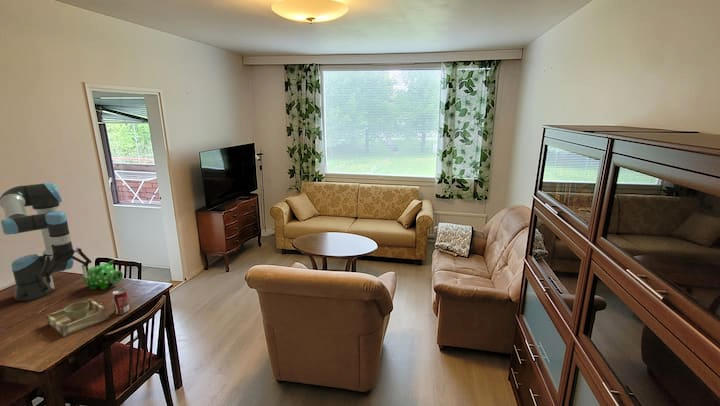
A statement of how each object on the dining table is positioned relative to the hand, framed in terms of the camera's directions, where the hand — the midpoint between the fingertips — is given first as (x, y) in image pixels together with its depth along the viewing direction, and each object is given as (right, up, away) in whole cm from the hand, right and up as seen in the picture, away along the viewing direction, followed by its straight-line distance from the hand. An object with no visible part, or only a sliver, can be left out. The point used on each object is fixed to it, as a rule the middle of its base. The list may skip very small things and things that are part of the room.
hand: (69, 282), depth 172 cm
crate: (+2, -21, +4) cm, 21 cm away
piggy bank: (-12, -12, +39) cm, 43 cm away
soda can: (+18, -19, +12) cm, 29 cm away
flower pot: (+2, -20, +4) cm, 20 cm away
